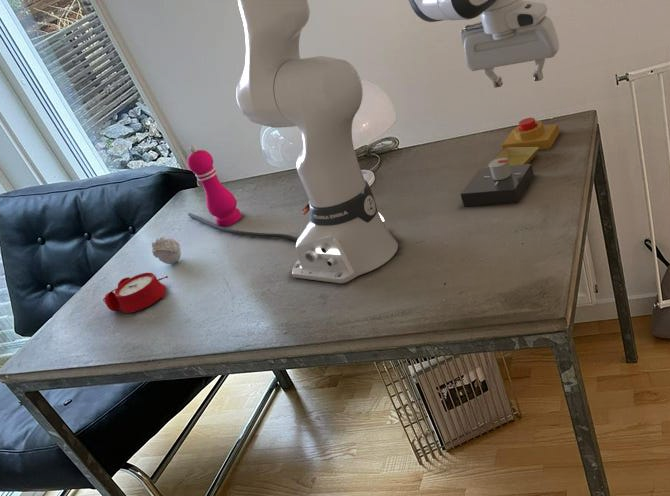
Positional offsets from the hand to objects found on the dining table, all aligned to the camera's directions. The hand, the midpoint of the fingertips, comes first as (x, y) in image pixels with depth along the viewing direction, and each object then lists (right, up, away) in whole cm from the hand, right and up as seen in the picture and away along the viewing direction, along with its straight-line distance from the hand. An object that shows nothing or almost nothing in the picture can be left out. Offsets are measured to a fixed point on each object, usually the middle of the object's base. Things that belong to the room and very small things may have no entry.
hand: (518, 83), depth 162 cm
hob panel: (-5, -25, -7) cm, 26 cm away
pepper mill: (-70, -25, +24) cm, 78 cm away
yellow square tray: (0, -18, +2) cm, 18 cm away
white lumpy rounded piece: (-79, -37, +13) cm, 89 cm away
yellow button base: (+4, -11, +8) cm, 14 cm away
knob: (-4, -22, -8) cm, 24 cm away
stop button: (+3, -8, +6) cm, 10 cm away
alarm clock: (-83, -47, +2) cm, 96 cm away
